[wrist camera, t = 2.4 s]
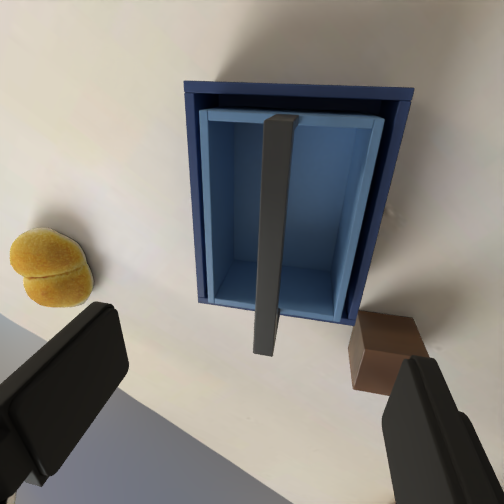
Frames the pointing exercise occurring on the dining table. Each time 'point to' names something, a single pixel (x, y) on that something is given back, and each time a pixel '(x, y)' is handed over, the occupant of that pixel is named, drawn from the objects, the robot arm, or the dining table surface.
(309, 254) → the upper bin
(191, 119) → the lower bin
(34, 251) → the bread roll
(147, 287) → the dining table surface
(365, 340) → the block
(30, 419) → the robot arm
